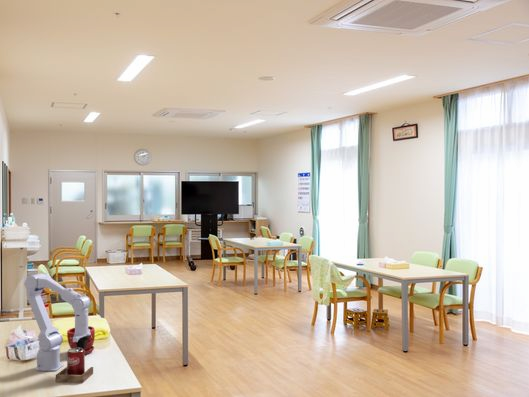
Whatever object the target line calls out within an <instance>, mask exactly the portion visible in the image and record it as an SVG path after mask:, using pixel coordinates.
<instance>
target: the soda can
mask: <svg viewBox="0 0 529 397" xmlns="http://www.w3.org/2000/svg"><path fill="white" fill-rule="evenodd" d="M85 356H86V354H85V351H84V349H83V348H72V349H71V348H68V350H67V351H66V364H67V365H66V367H67V375H82V374H83V373H85V372H86V371H85V368H86V367H85V366H86V365H85V363H86V362H85V360H86V359H85Z"/></svg>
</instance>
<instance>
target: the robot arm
mask: <svg viewBox="0 0 529 397" xmlns="http://www.w3.org/2000/svg"><path fill="white" fill-rule="evenodd" d="M23 284H24V287H25V290H26V291H25V292H26V298H27V301H28V302H29V305H30V308H31V310H32V313H33V316H34V318H35V321H36V323H37V326H38V328H39V330H40V331H39V334H38V336H37V338H38V344H39V348H40V349H39V350H37V353H36V369H35V370H36V371H41V372H42V371H45V372H56V371H58V370H59V369H61V368H62V367H63V366H64V363H63V364H62V363H61V356H60V355H61V354H60V352H61V350H60V348H61V345H62V343H64V342H63V341H64V336H63V335H62V334H61V332H60V331H59V329H58V328H57V327H55V326H54V325H53V324H52V322H51V321H52V320H51V319H50V316H49V313H48V311H47V309H46V306H45V303H44V301H43V299H42V296H41V295H42V292H43V291H44V290H45V288H47V289H49V290H51V291H53V292H55V293H56V294H58V295H60V297H61V300H63V301H64V302H66V303H68V304H69V305H71V308H72V309H73V314H74V328H75V334H74V337H73V342H75V343H76V345H77V348H83V349H84V351H85V349H86V345H87V342H88V340H89V336H87V335H91V333H90V329H88V326H89V308H90V307H91V303H92V302H91V298H90V297H89V296H88V295H82V294H81V293H78V292H76V291H75V290H74V288H72V287H70V288H69V287H66V288H65V287H64V286H63V285H61V284H60V283H58V282H57V281H56V280H55V279H53V278H52V276H51V275H50V274H48V273H46V272H41V273H37V274H31V275H28V276H27V277H26V278H25V280H24V282H23Z"/></svg>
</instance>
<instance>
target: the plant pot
mask: <svg viewBox="0 0 529 397" xmlns="http://www.w3.org/2000/svg"><path fill="white" fill-rule="evenodd" d="M88 329H90V333H91V335H87V336H89V340H88V342H87V345H86V349H85V355H87V354H91V353H92V352H93V351H94V349H95V347H94V342H95V333H96V332H95V327H94V326H92V325H88ZM66 334H67V335H66V336H67V343H68V345H69V349H72V348H77V345H76V343H75V342H73V337H74V334H75V327H73V328H69V329H68V330H67V331H66Z"/></svg>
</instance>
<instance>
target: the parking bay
mask: <svg viewBox="0 0 529 397" xmlns="http://www.w3.org/2000/svg"><path fill="white" fill-rule="evenodd" d="M93 374H94V367H93V366H91V367H89V368H88V369H87V370H86V371H85V373H83V374H82V375H67V366H66V367H64V368H63V369H62V370H61V371H59V372H58V373H57V374H55V383H69V384H70V383H71V384H72V383H73V384H77V383H78V384H83V383H85V382H86V381H87V380H88V379H89V378H90V377H91V376H93Z"/></svg>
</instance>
